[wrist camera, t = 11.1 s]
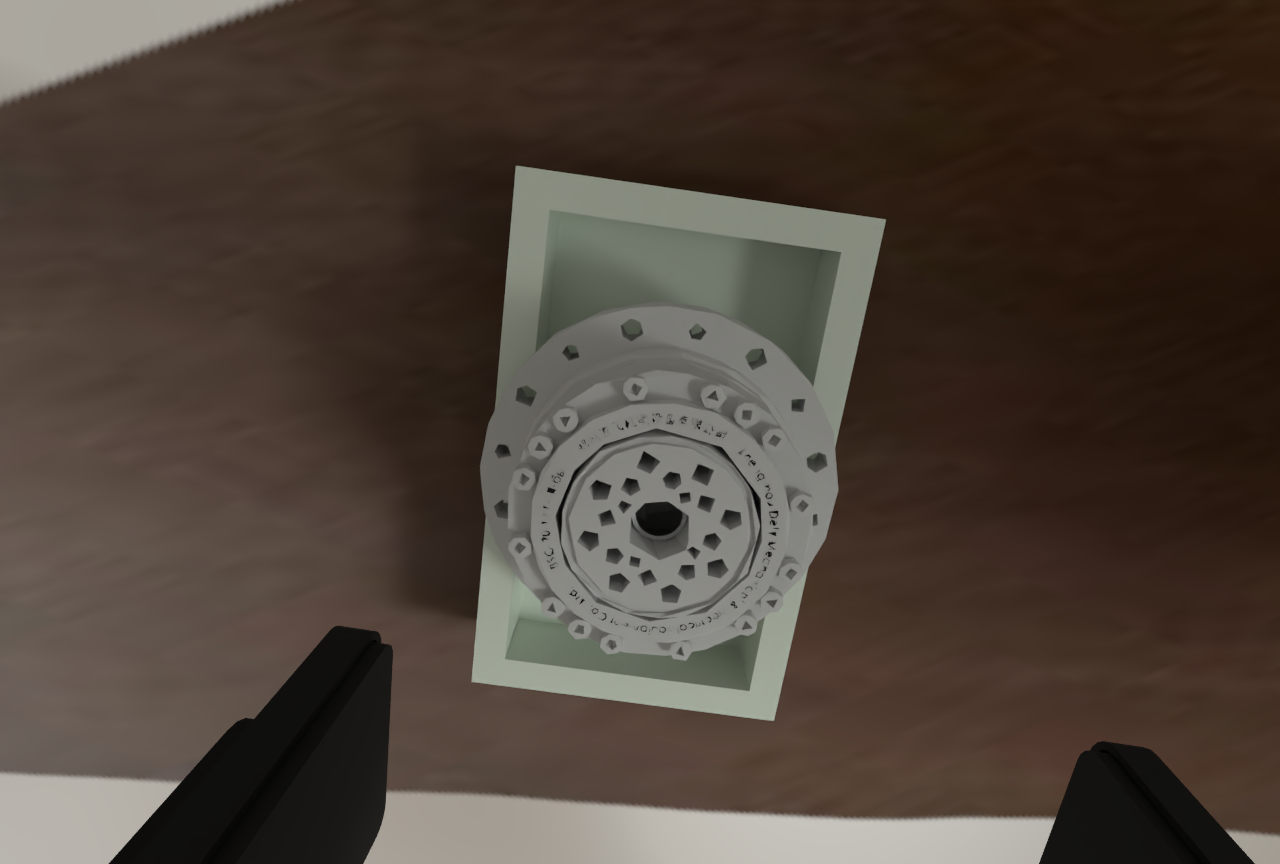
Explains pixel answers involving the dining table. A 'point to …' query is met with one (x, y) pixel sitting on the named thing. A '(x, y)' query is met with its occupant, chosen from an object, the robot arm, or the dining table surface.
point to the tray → (700, 276)
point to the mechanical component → (659, 478)
